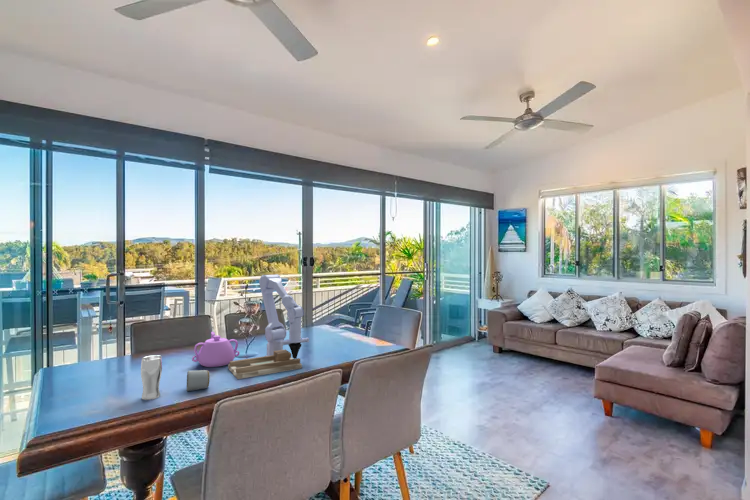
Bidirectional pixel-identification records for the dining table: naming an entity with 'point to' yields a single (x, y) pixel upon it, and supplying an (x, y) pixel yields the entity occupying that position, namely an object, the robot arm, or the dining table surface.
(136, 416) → the dining table surface
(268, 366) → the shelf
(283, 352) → the walnut block
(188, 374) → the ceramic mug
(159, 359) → the beer glass
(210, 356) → the purple sugar bowl
